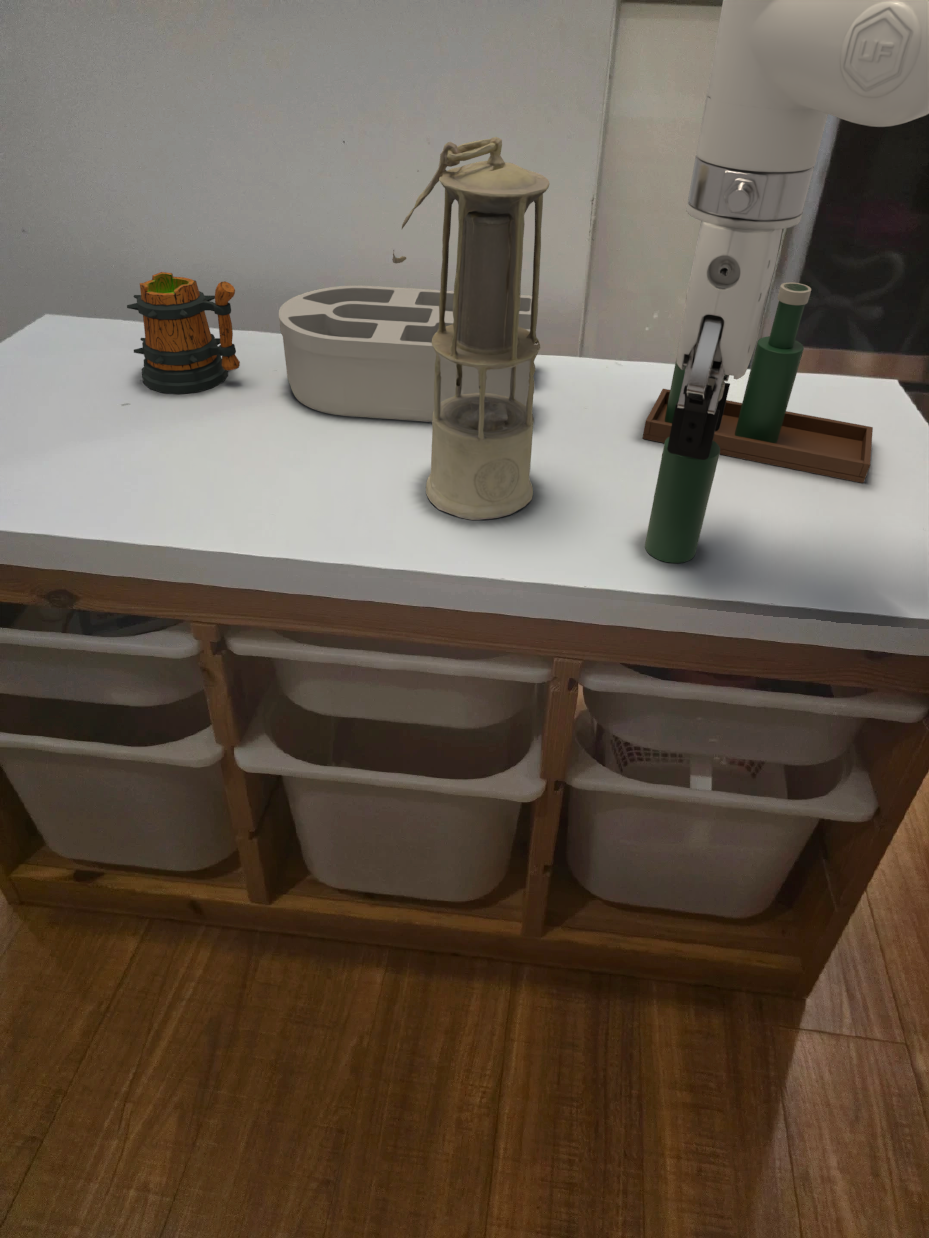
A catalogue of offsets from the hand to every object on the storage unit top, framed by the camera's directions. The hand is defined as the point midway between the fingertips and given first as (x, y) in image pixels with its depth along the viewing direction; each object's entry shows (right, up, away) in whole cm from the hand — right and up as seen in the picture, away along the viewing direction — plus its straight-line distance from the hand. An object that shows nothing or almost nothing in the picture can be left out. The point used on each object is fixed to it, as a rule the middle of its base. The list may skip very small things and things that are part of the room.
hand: (693, 438), depth 68 cm
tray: (+12, +4, +23) cm, 26 cm away
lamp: (-18, -2, +14) cm, 23 cm away
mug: (-49, +13, +31) cm, 60 cm away
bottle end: (+6, +7, +24) cm, 26 cm away
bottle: (0, -8, +7) cm, 11 cm away
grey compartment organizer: (-25, +12, +30) cm, 41 cm away
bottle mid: (+12, +5, +22) cm, 26 cm away
